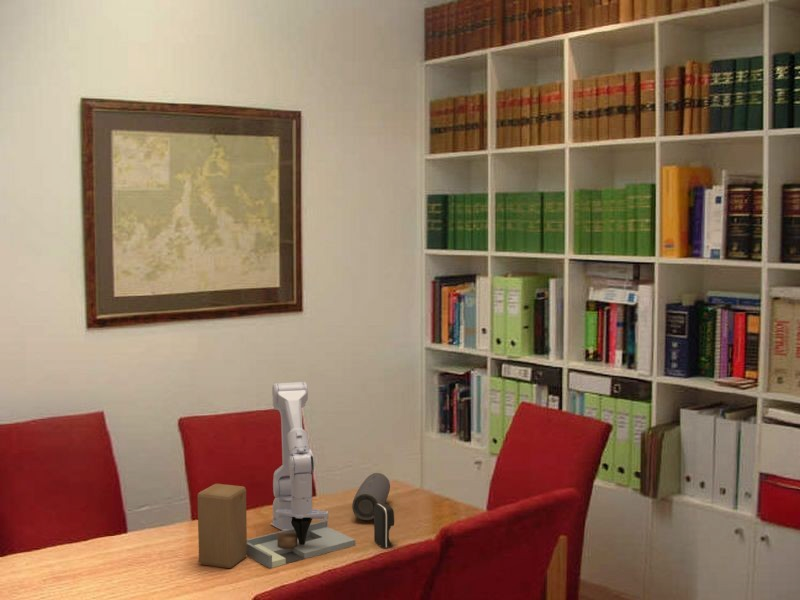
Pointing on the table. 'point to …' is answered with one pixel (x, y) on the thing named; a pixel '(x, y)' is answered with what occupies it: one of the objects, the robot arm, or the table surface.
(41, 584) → the table surface
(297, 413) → the robot arm
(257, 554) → the trap board
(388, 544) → the battery charger
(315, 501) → the table surface
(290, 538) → the puck
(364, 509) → the bluetooth speaker
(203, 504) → the wooden block
